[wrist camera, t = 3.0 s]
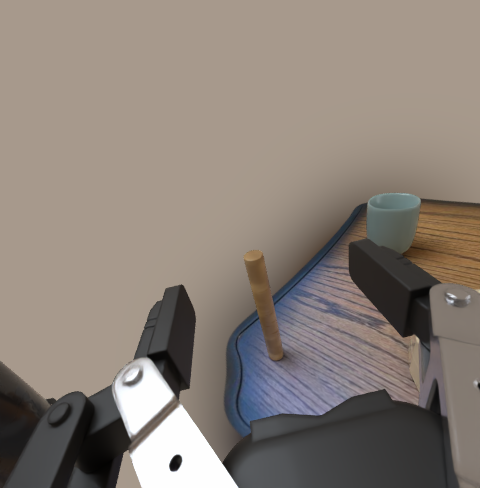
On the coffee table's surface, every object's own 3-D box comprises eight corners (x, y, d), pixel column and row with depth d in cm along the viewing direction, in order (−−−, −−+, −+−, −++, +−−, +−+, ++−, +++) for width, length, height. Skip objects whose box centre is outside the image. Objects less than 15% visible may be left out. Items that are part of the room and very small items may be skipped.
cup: (412, 263, 40) (421, 210, 35) (362, 257, 44) (364, 209, 39) (413, 241, 45) (421, 192, 40) (368, 237, 49) (370, 193, 45)
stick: (274, 363, 30) (249, 263, 22) (265, 352, 31) (240, 255, 24) (286, 355, 30) (266, 255, 23) (278, 344, 32) (256, 247, 24)
